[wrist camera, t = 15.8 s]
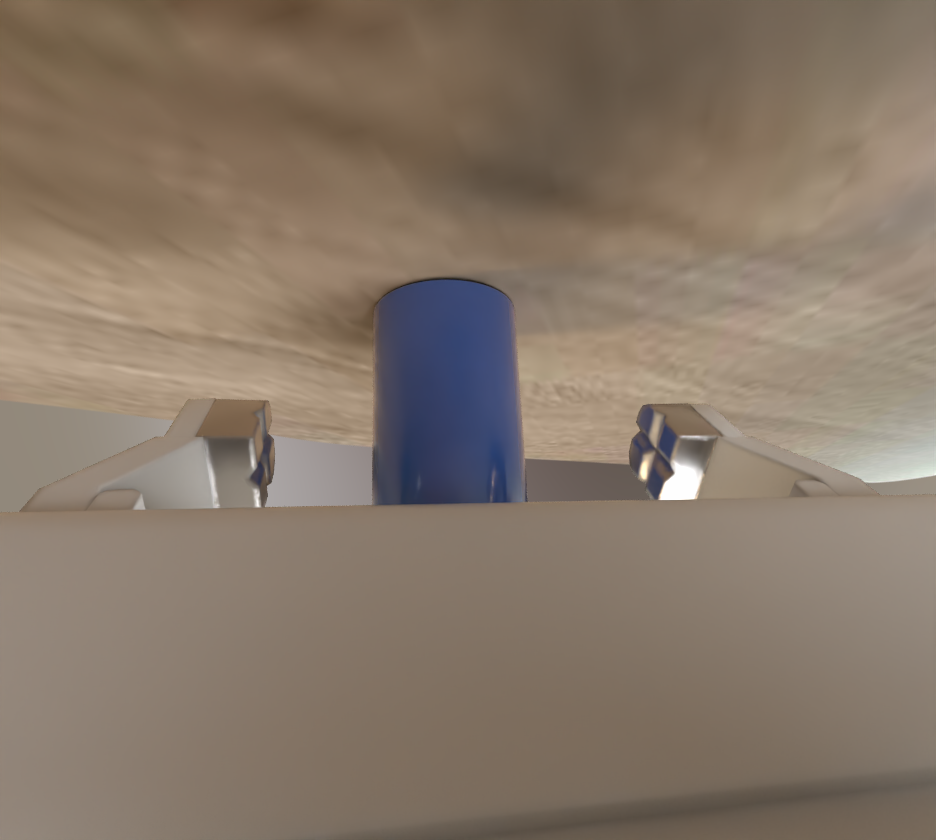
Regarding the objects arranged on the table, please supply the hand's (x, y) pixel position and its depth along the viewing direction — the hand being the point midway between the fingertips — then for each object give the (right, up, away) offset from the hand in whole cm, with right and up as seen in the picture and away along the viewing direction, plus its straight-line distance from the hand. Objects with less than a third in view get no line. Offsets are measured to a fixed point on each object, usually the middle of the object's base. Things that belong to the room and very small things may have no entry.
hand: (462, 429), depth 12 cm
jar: (-1, +3, +5) cm, 6 cm away
